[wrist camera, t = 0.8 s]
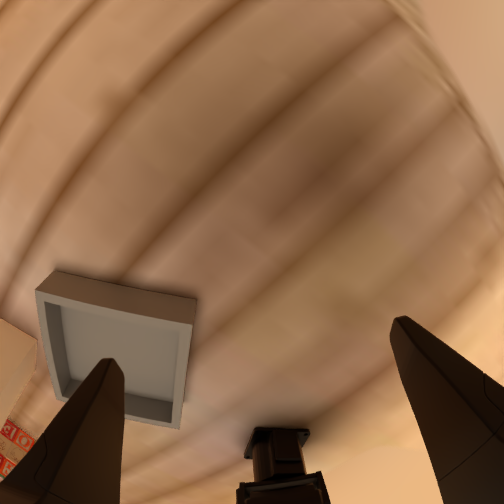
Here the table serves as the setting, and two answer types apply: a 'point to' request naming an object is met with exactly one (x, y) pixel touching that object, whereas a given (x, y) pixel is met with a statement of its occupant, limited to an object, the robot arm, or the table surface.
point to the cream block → (14, 365)
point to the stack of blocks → (12, 447)
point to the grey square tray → (118, 341)
